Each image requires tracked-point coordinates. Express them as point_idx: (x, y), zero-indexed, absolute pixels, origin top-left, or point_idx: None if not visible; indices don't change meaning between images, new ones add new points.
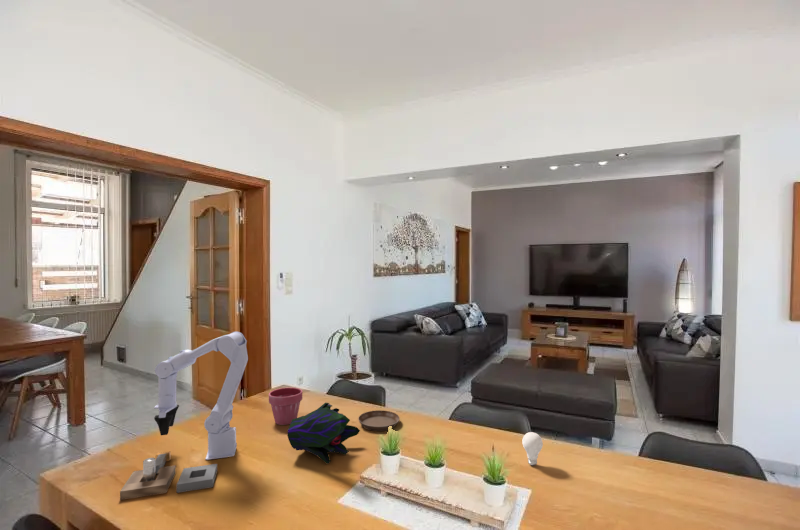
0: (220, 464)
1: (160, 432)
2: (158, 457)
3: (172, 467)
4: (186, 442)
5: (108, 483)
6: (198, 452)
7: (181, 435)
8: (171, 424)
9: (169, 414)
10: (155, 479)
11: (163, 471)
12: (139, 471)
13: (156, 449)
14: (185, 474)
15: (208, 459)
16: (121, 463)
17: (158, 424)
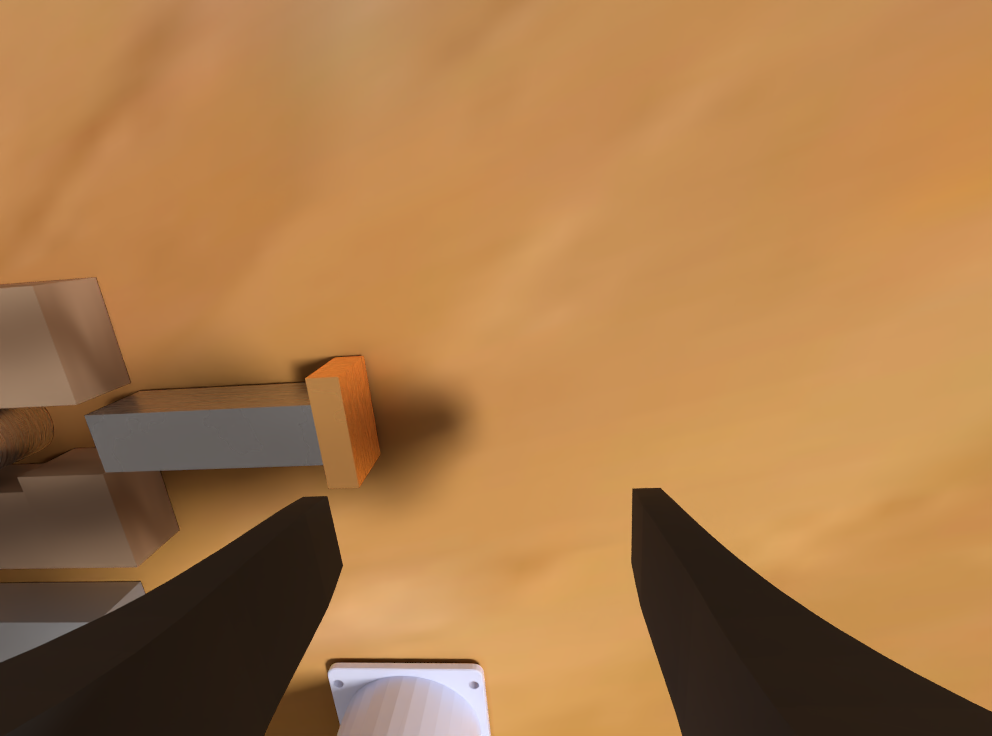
0: (272, 730)
1: (269, 523)
2: (248, 421)
3: (105, 555)
4: (701, 491)
5: (21, 88)
6: (469, 604)
7: (909, 413)
8: (639, 571)
9: (711, 732)
10: (5, 466)
11: (46, 513)
12: (32, 337)
13: (630, 270)
14: (20, 645)
15: (331, 678)
16: (381, 20)
17: (87, 639)
